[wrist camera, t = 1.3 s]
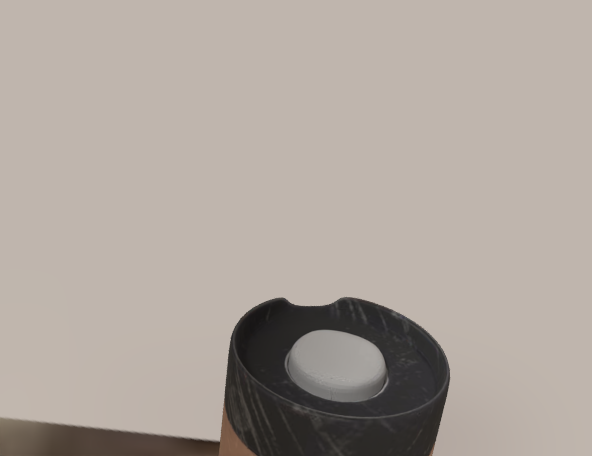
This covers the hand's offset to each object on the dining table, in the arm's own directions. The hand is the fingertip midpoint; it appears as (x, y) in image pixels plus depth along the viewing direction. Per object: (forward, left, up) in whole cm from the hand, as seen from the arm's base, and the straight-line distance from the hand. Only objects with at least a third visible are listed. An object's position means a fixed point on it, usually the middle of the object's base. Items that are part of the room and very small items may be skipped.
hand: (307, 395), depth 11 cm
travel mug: (0, +7, -23) cm, 24 cm away
